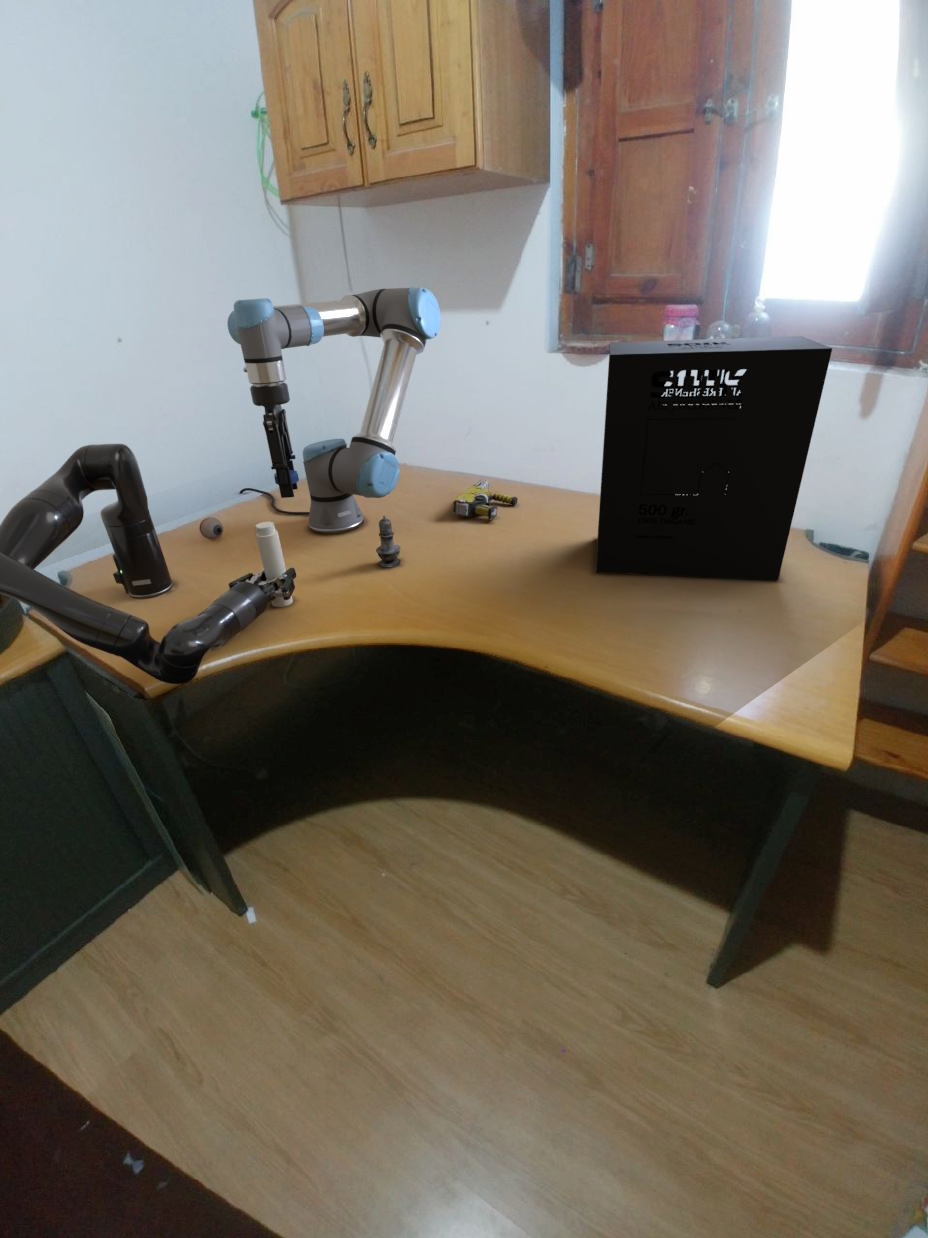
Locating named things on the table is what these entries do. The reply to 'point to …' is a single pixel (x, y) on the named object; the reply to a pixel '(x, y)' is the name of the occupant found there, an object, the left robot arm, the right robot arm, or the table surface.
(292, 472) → the lid
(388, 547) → the grey upright turned piece
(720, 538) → the cardboard box
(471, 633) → the table surface
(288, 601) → the jar
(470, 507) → the toy gun
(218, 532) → the eyeball
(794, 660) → the table surface
